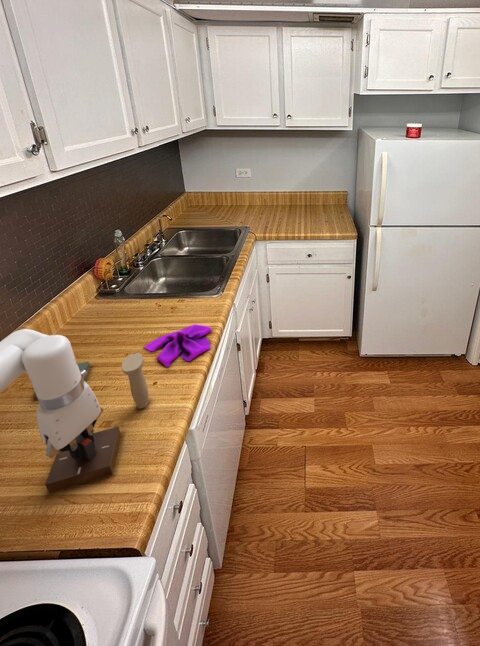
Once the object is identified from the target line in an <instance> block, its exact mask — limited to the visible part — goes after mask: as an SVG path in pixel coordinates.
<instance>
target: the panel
mask: <svg viewBox="0 0 480 646" xmlns="http://www.w3.org/2000/svg"><path fill="white" fill-rule="evenodd" d="M92 435H93V438H94V442H93V443H94V446H95V451H96V455H95V456H94V457H93V458H92V459H91V460H88V459H86V458H84V459H83V460H81V459H79V458H76V459H74V458H72V457H71V455H70V452H69V451H64V452H62V451H61V452H60V453H59V454H57V455H55V456H54V460H53V463H52V465H51V467H50V471H49V473H48V476H47V478H46V481H45V483H44V486H45V488H46V490H47V492H48V494H52V493H56V492H59V491H62V490H65V489H69V488H72V487H76V486H80V485H82V484H85V483H86V484H87V483H89V482H93V481H97V480H98V479H99V480H100V479H102V478H106V477H110V476H112V475H113V474H114V470H115V466H116V461H117V456H118V452H119V447H120V442H121V438H122V433H121V429H120V426H114V427H111V428H107V429H103V430H100V431H96V432H94V433H93V434H92Z"/></svg>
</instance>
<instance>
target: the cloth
mask: <svg viewBox="0 0 480 646" xmlns="http://www.w3.org/2000/svg"><path fill="white" fill-rule="evenodd" d="M212 330H213V328H211V327H209V326H207V325H202V324H192V325H190V326H187V327H185V328H183V329H181V330H177V331H173V332H171V333H168V334H164V335H162V336H160V337H157V338H156V339H153V341H151V342H150V343H148V344H146V345H145V346H144V349H145V350H147V351H149V352H155V351H157V350H159V349H161V348H163V347H164V348H163V350H161V352H160V353H159V355H158V356H157V357H156V359H157V361H159V362H160V363H161V364H162V365H164V366H165V368H166V367H167V368H169V367H170V366H171V364H172V362H173V361H175V360H176V359H177V358H179V356H180V355H181V358H182V360H184V361H187V362H191V361H192V360H194V359H196V358H197V357H198V356H200V355H202V354H203V353H205V352H207V351H208V350H210V349H211V344H210V341H209V339H207V337H206V335H207V334H209V333H211V332H212Z"/></svg>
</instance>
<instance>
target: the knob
mask: <svg viewBox="0 0 480 646" xmlns="http://www.w3.org/2000/svg"><path fill="white" fill-rule="evenodd" d="M75 440H76V442H77V444H79V445H81V447H82V449H83V452H84V455H85V458H86V459H88V460H91V459H92V458H93V457H94V456H95V455H96V451H95V448H94V446H93V443H92V440H90V439H88V438H86V437H84V436H81V435H80V434H79V435H78V436H77V437H76V438H75Z"/></svg>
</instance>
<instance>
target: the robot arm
mask: <svg viewBox="0 0 480 646" xmlns="http://www.w3.org/2000/svg"><path fill="white" fill-rule="evenodd" d="M77 364H78V362H77V359H76V356H75V353H74V350H73V346H72V344H71V342H70V340H69V339H68V338H67V337H66V336H64V335H62V334H51V335H49V334H45V333H42V332H39V331H37V330H34V329H29V328H22V329H17V330H15V331H14V332H12V333H10V334H9V335H7V336H6V337H4V338H3V339H1V341H0V394H1V393H2V392H4V391H5V390H6V389H7V388H8V387H9V386H10V385H12V383H14V382H15V381H16V380H17V379H18V378H19V377H21V376H22V375H23V374H24V373H26V374H27V376H28V378H29V381H30V383H31V386H32V388H33V391H34V393H36V396H37V398H38V399H37V400H38V403H39V405H38V406H37V407H36V424H37V427H38V432H39V435H40V438H41V441H42V443H43V444H44V445H45V446H46V449H45V450H46V451H45V456H46V457H48V458H49V459H52V458H55V457H56V455H57V454H59V453H60V452H61V451H62V452H64V451H69V452H70V455H71V457H72V458H74V459H76V458H79V459H81V460H83V459H84V458H85V455H84V452H83V449H82V447H81V445H79V444H77V442H76V440H75V438H76V437H77V436H78V435H81V436H84V437H86V438H88V439H90V440H92V443H93V442H94V438H93V435H92V434H93V433H95V429H94V428H95V426H96V424H97V421H98V419H99V418H100V416H101V415H102V414H103V412H104V409H103V408H102V407H101V405H100V402H99V400H98V398H97V396H96V395H95V392H94V391H93V389H92V388H91V387H90V385H89V384H88V383H87V382H86V380H85V381H84V380H83V378H84V377H85V375H87V376H88V374H87V371H86V370H82V371H79V368H78V365H77ZM36 396H35V397H36ZM93 446H94V443H93ZM94 448H95V446H94Z"/></svg>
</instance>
